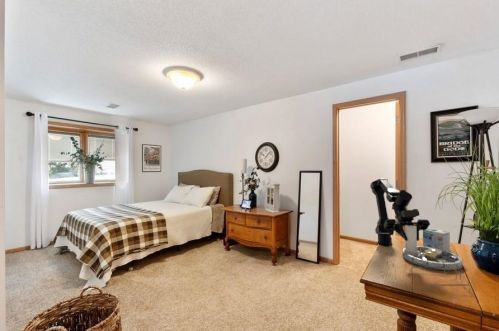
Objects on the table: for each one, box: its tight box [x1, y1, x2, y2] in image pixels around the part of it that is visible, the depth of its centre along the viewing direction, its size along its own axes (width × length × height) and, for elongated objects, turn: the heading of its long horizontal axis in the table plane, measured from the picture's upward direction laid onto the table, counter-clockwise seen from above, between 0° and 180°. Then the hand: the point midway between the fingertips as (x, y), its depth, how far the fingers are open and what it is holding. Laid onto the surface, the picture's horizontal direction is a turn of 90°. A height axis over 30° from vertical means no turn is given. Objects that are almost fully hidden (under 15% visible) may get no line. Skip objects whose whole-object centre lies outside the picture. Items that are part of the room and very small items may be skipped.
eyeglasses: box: [410, 265, 471, 292], centre depth 99 cm, size 16×15×5 cm
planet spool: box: [404, 225, 419, 256], centre depth 112 cm, size 6×6×13 cm
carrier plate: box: [402, 245, 464, 272], centre depth 119 cm, size 24×24×4 cm
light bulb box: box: [422, 227, 451, 252], centre depth 134 cm, size 11×7×11 cm, turn 25°
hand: (412, 240), depth 110 cm, fingers closed on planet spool, 4 cm apart
